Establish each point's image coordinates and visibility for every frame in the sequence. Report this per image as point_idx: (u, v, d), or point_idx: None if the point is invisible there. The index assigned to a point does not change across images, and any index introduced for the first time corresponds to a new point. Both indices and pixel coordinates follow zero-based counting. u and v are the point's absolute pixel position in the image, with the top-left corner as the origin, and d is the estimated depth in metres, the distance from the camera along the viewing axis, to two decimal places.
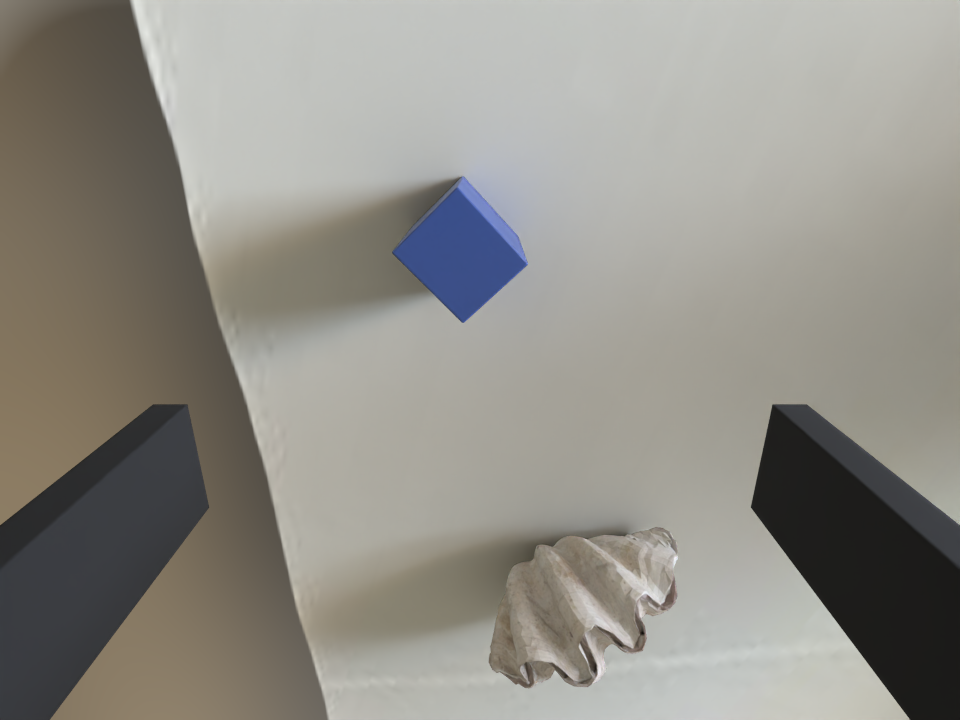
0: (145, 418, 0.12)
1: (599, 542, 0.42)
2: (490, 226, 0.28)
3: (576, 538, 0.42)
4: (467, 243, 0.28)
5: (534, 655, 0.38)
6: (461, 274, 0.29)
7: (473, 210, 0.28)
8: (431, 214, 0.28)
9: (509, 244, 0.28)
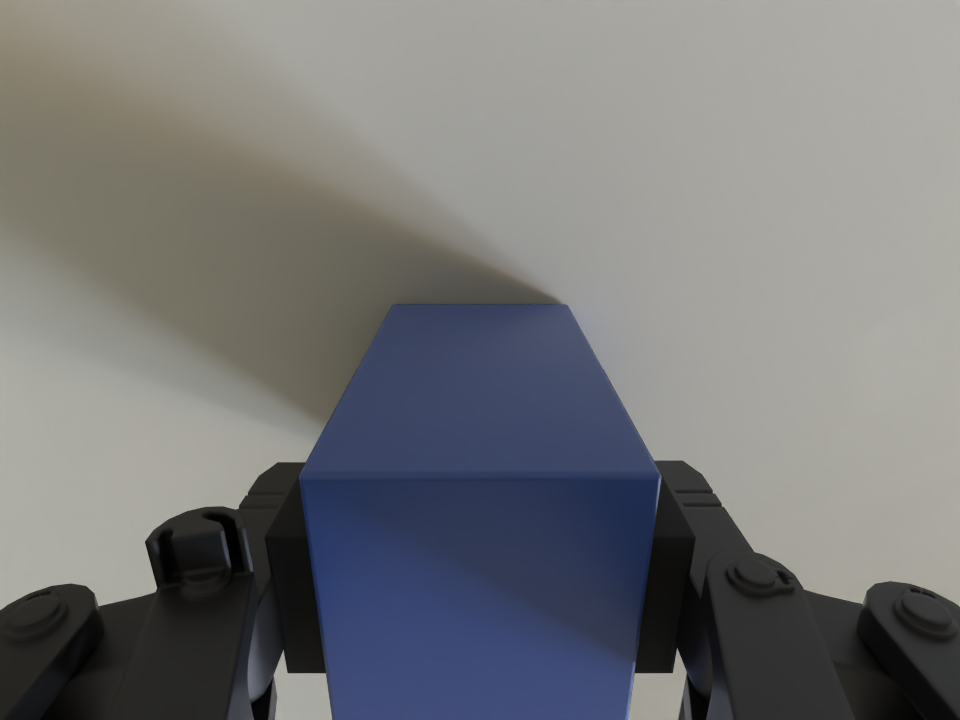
0: None
1: None
2: (634, 623, 0.08)
3: None
4: (535, 616, 0.08)
5: None
6: (445, 662, 0.08)
7: (637, 562, 0.08)
8: (518, 479, 0.07)
9: (630, 687, 0.09)
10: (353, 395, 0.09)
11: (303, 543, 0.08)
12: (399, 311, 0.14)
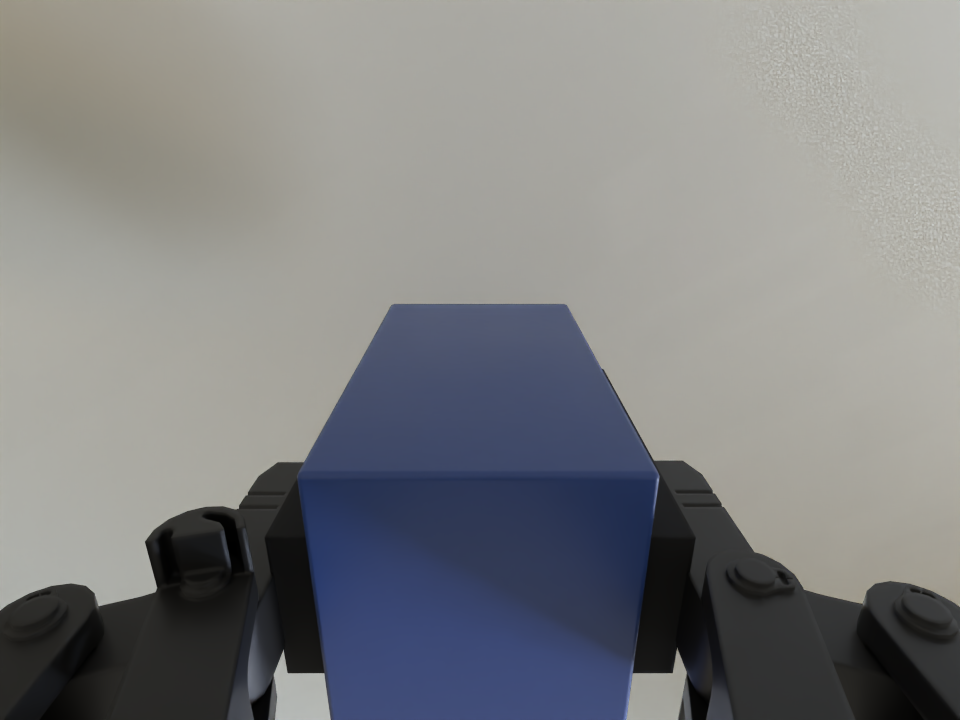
0: None
1: None
2: (632, 622, 0.08)
3: None
4: (533, 616, 0.08)
5: None
6: (443, 662, 0.08)
7: (635, 561, 0.08)
8: (516, 478, 0.07)
9: (628, 686, 0.09)
10: (351, 395, 0.09)
11: (303, 543, 0.08)
12: (398, 311, 0.14)
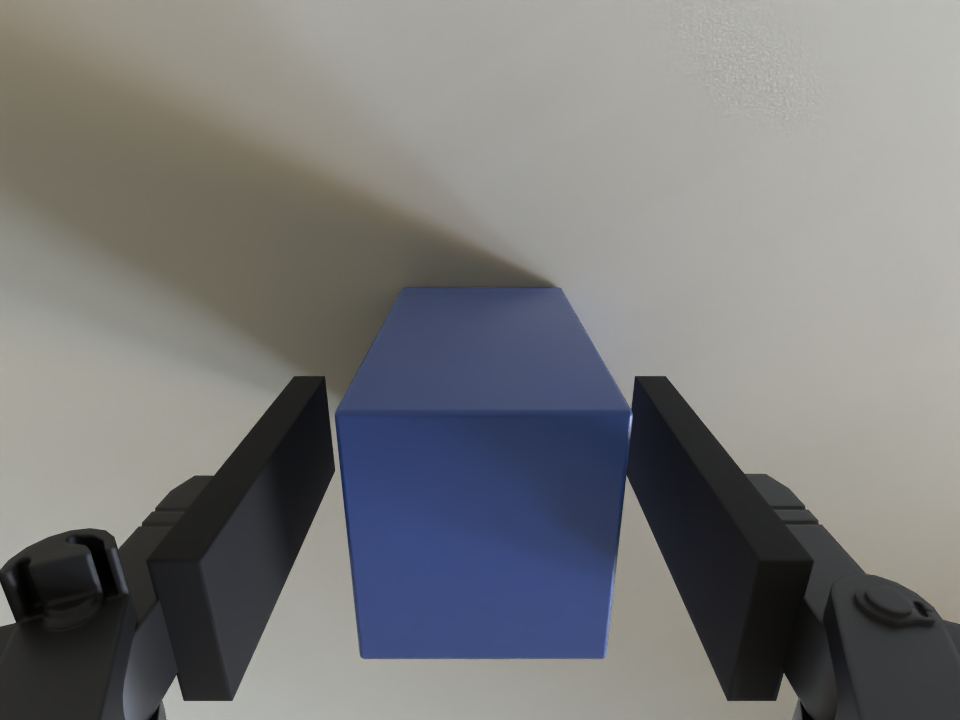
0: (294, 387, 0.13)
1: None
2: (612, 542, 0.10)
3: None
4: (529, 535, 0.10)
5: None
6: (453, 578, 0.10)
7: (614, 488, 0.09)
8: (515, 415, 0.09)
9: (610, 600, 0.10)
10: (374, 357, 0.11)
11: (188, 566, 0.08)
12: (409, 293, 0.16)
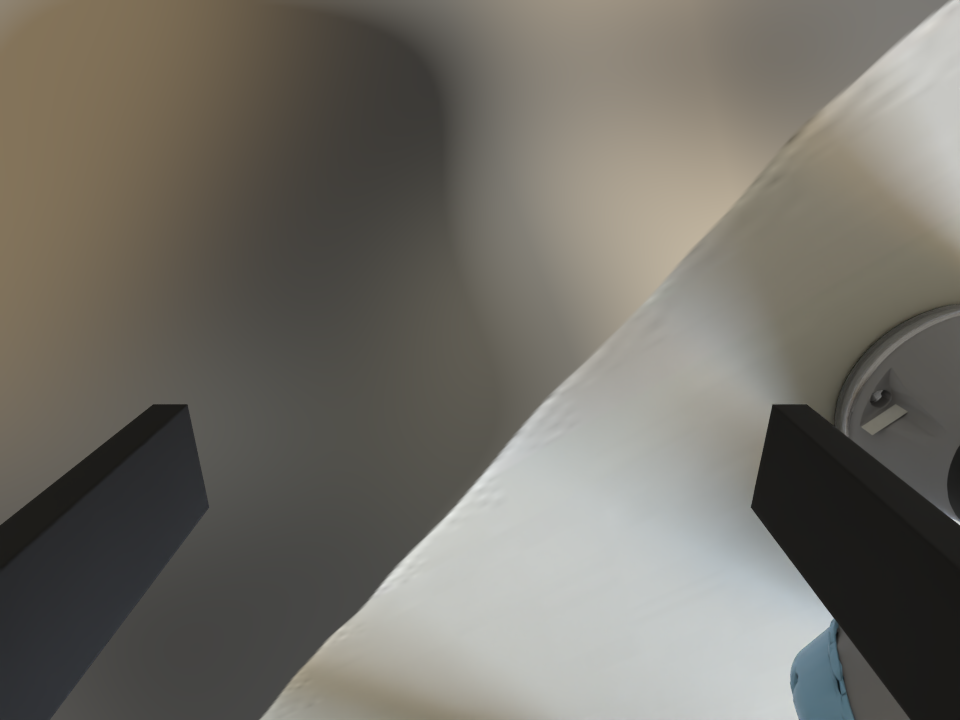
0: (145, 418, 0.12)
1: None
2: None
3: None
4: None
5: None
6: None
7: None
8: None
9: None
10: None
11: None
12: None
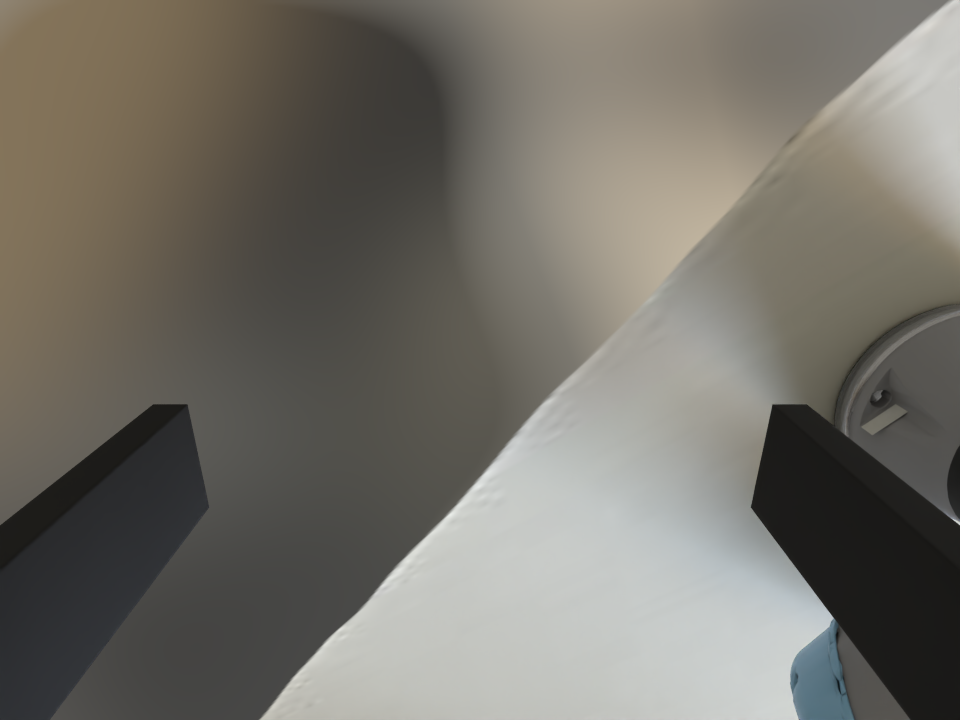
0: (145, 418, 0.12)
1: None
2: None
3: None
4: None
5: None
6: None
7: None
8: None
9: None
10: None
11: None
12: None
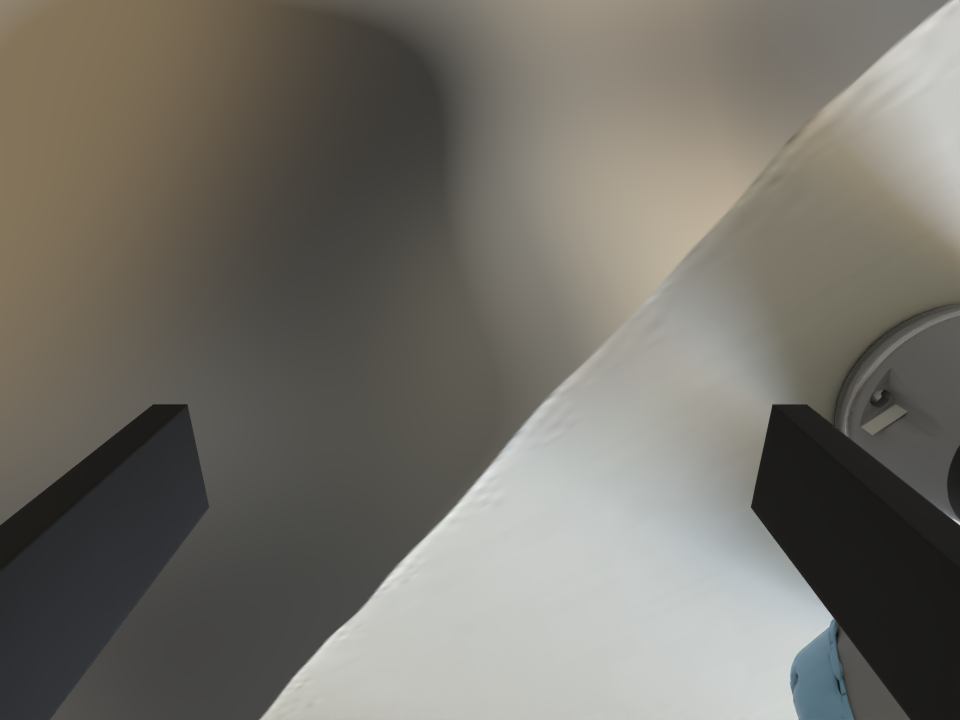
0: (145, 418, 0.12)
1: None
2: None
3: None
4: None
5: None
6: None
7: None
8: None
9: None
10: None
11: None
12: None
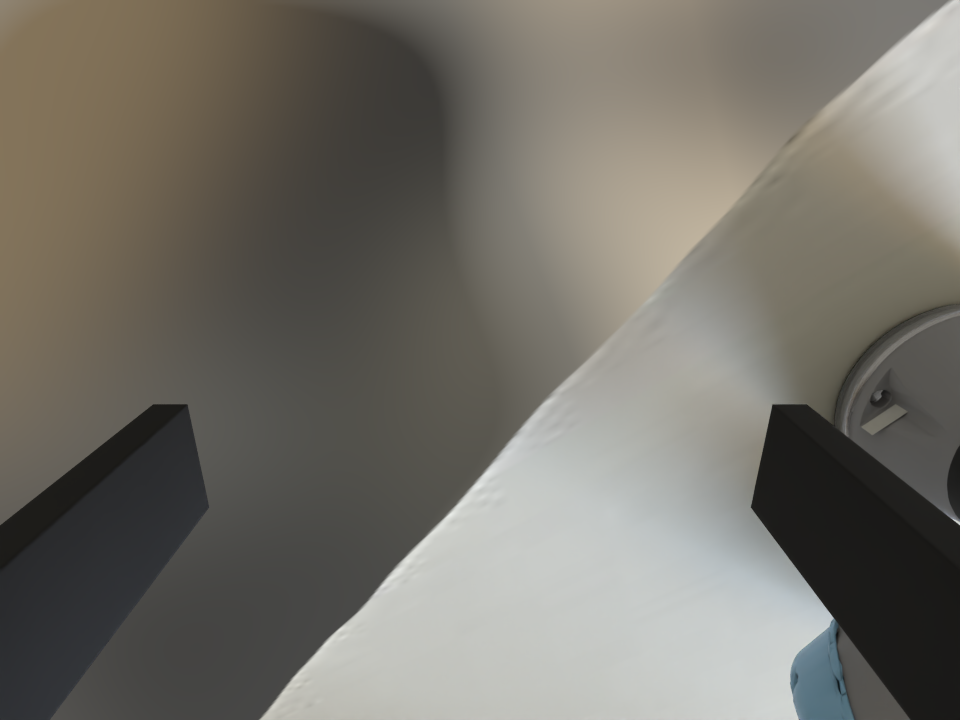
0: (145, 418, 0.12)
1: None
2: None
3: None
4: None
5: None
6: None
7: None
8: None
9: None
10: None
11: None
12: None
